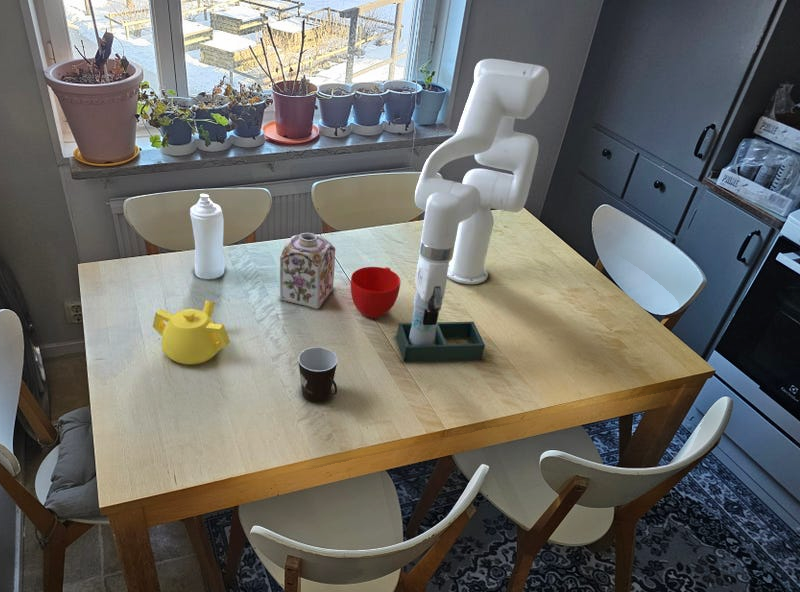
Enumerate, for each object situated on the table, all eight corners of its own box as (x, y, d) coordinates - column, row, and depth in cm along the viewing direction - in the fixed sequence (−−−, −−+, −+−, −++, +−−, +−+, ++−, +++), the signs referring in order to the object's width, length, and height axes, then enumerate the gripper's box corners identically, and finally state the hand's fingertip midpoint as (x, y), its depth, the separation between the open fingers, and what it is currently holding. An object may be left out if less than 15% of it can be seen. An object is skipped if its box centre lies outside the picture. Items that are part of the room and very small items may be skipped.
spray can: (238, 272, 184) (234, 191, 169) (214, 288, 177) (207, 204, 162) (207, 260, 189) (200, 180, 174) (183, 275, 182) (173, 193, 166)
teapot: (249, 333, 161) (247, 297, 154) (216, 376, 147) (213, 338, 140) (178, 316, 166) (174, 280, 159) (140, 356, 152) (134, 319, 145)
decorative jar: (278, 300, 174) (278, 241, 162) (295, 280, 182) (296, 222, 171) (319, 310, 170) (321, 250, 159) (334, 289, 179) (338, 231, 168)
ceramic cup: (407, 298, 177) (412, 267, 170) (386, 330, 164) (390, 297, 158) (364, 287, 181) (367, 256, 174) (340, 316, 168) (343, 284, 162)
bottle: (433, 357, 155) (445, 287, 143) (405, 353, 156) (416, 283, 144) (434, 341, 160) (447, 272, 148) (408, 337, 161) (418, 268, 149)
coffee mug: (296, 381, 147) (297, 347, 141) (333, 380, 148) (335, 346, 141) (299, 416, 138) (300, 381, 131) (338, 415, 138) (341, 380, 132)
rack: (396, 337, 162) (398, 323, 159) (470, 335, 164) (473, 321, 161) (404, 362, 154) (406, 347, 151) (481, 359, 156) (485, 345, 153)
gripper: (412, 231, 148) (403, 296, 159) (429, 269, 134) (418, 337, 145) (443, 231, 148) (432, 295, 159) (463, 268, 135) (450, 336, 146)
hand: (425, 314), depth 152 cm, fingers closed on bottle, 6 cm apart
